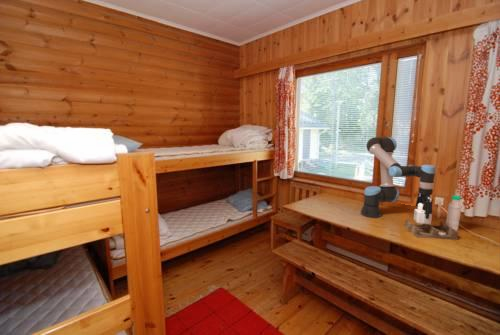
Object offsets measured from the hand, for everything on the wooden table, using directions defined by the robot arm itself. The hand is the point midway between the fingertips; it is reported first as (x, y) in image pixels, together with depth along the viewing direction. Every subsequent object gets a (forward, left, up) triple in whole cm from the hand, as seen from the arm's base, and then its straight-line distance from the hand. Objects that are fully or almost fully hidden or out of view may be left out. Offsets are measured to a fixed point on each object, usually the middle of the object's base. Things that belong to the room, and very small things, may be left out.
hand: (422, 220), depth 164 cm
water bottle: (-9, +25, -10) cm, 28 cm away
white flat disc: (0, +11, -9) cm, 14 cm away
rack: (0, +6, -10) cm, 11 cm away
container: (0, 0, -1) cm, 1 cm away
